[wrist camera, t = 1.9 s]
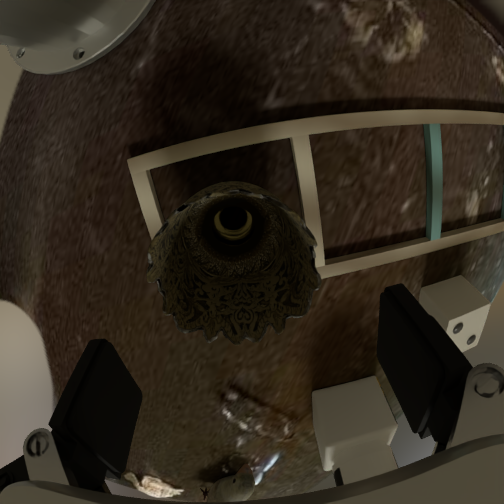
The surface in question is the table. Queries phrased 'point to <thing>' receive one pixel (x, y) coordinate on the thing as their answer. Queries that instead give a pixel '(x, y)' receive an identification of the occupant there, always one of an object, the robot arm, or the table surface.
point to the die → (457, 309)
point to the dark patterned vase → (234, 264)
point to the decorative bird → (232, 487)
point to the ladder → (307, 184)
